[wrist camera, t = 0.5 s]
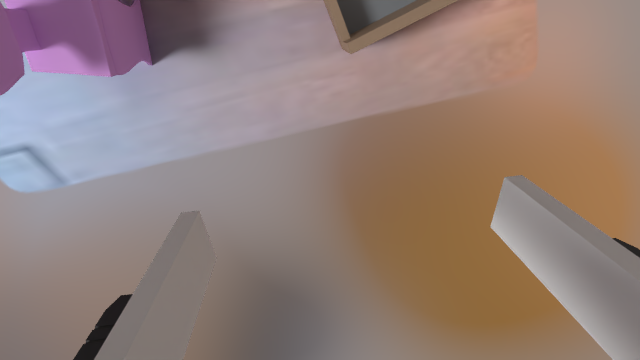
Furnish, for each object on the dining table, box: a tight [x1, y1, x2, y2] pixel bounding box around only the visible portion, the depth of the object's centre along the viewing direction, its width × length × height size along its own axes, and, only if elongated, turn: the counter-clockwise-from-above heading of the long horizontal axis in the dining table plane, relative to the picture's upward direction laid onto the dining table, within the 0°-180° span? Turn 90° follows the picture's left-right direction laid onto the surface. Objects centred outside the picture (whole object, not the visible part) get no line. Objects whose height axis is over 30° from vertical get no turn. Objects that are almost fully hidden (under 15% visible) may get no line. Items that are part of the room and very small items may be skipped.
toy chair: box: [0, 0, 152, 95], centre depth 23 cm, size 8×9×15 cm
